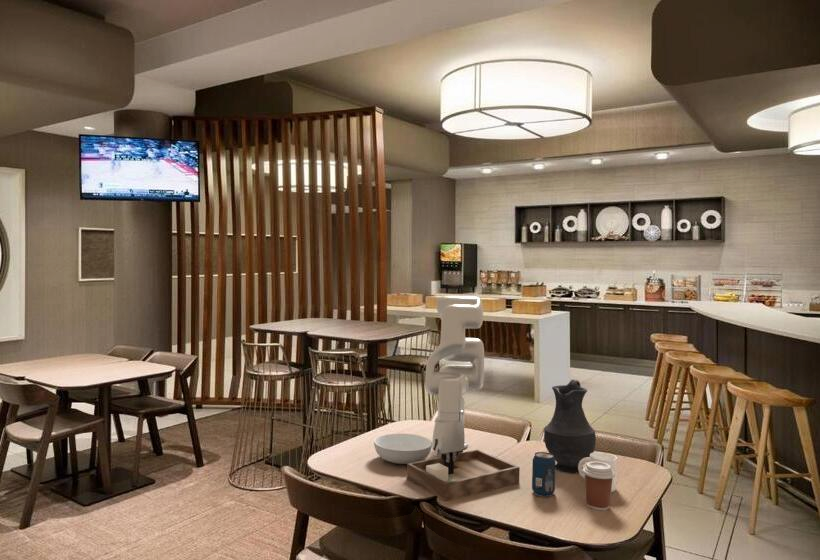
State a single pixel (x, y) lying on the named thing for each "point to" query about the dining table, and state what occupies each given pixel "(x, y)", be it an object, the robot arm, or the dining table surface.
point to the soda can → (543, 474)
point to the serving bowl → (402, 447)
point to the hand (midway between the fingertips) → (448, 472)
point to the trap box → (465, 475)
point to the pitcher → (569, 429)
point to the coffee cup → (598, 484)
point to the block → (438, 471)
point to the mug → (603, 458)
